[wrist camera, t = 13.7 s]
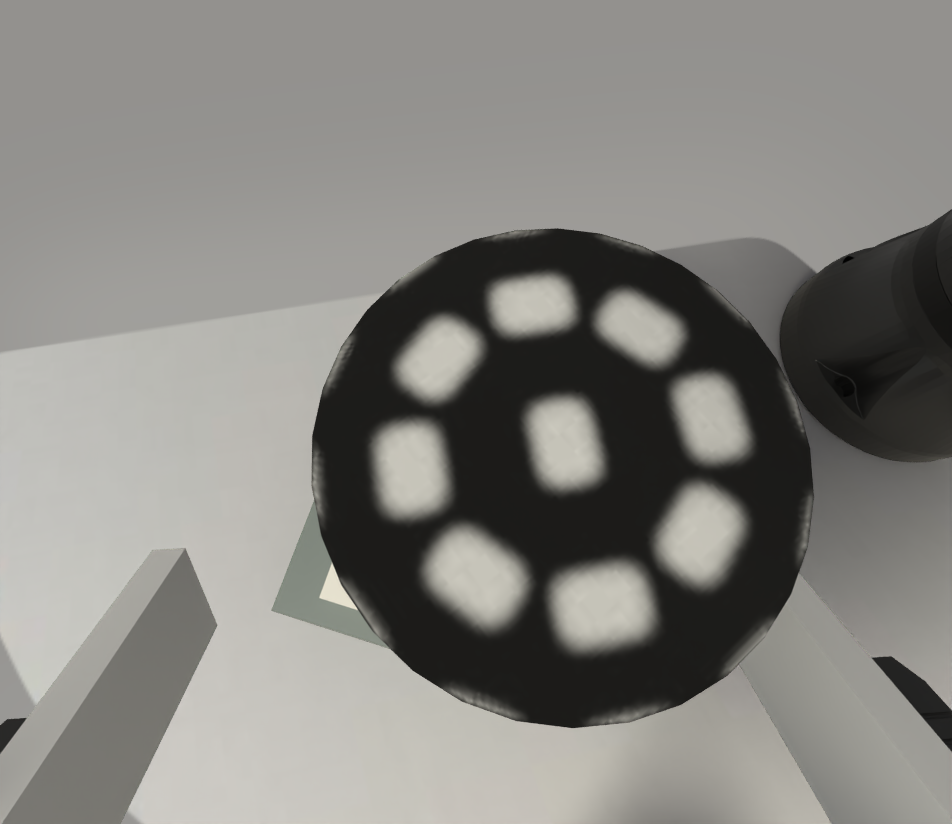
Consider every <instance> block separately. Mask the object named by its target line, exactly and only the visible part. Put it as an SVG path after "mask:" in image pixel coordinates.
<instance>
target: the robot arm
mask: <svg viewBox="0 0 952 824" xmlns="http://www.w3.org/2000/svg"><path fill="white" fill-rule="evenodd" d="M780 344H781V353H782V358H783V362H784V366H785V369H786V372H787V374H788V377H789V379H790V381H791V383H792V385H793V387H794V389H795V391H796V393H797V394H798V396H799V397H800V399H801V400H802V402H803V403H804V404H805V406H806V407H807V408H808V409H809V411H810V412H811V413H812V414H813V415H814V416H815V417H816V418H817V419H818V420H819V421H820V422H821V423H822V424H823V425H824V426H825V427H826V428H828V429H829V430H830V431H831V432H833V433H834V434H835V435H837V436H838V437H839V438H841V439H842V440H844V441H846V442H847V443H849V444H851V445H853V446H854V447H856V448H858V449H861V450H863V451H865V452H867V453H870V454H873V455H875V456H879V457H882V458H886V459H890V460H895V461H902V462H927V461H934V460H939V459H944V458H949V457H952V210H950V211H949V212H947V213H946V214H944V215H943V216H941V217H940V218H938V219H937V220H935V221H934V222H933V223H931V224H930V225H928V226H925V227H923V228H920V229H917V230H914V231H912V232H909V233H906V234H903V235H901V236H898V237H896V238H893V239H890V240H888V241H886V242H883V243H881V244H879V245H877V246H875V247H873V248H867V249H863V250H860V251H857V252H854V253H851V254H848V255H846V256H844V257H842V258H840V259H838V260H836V261H835V262H832V263H831V264H829V265H828V266H826V267H825V268H824V269H823V270H821V271H820V272H819V273H817V274H816V275H815V276H814V277H812V278H811V279H810V280H809V281H807V282H806V283H805V284H804V285H803V286H802V287H800V288H799V290H798V291H797V292H796V293H795V294H794V296H793V297H792V299H791V300H790V302H789V304H788V306H787V308H786V310H785V313H784V316H783V320H782V325H781V334H780ZM216 627H217V623H216V621H215V618H214V616H213V614H212V611H211V609H210V606H209V604H208V602H207V599H206V597H205V594H204V592H203V590H202V587H201V585H200V582H199V580H198V578H197V575H196V573H195V570H194V568H193V566H192V563H191V561H190V558H189V556H188V554H187V551H186V549H185V548H181V549H164V550H152V552H151V553H150V554H149V556H148V557H147V558H146V560H145V561H144V562H143V564H142V565H141V566H140V568H139V569H138V570H137V572H136V573H135V574H134V576H133V577H132V578H131V580H130V581H129V582H128V584H127V585H126V586H125V588H124V589H123V590H122V592H121V593H120V594H119V596H118V597H117V598H116V600H115V601H114V602H113V604H112V605H111V606H110V608H109V609H108V610H107V612H106V613H105V614H104V616H103V617H102V618H101V620H100V621H99V622H98V624H97V625H96V626H95V628H94V629H93V630H92V632H91V633H90V635H89V636H88V637H87V639H86V640H85V641H84V643H83V644H82V645H81V647H80V648H79V649H78V651H77V652H76V653H75V655H74V656H73V657H72V659H71V660H70V661H69V663H68V664H67V665H66V667H65V668H64V669H63V671H62V672H61V673H60V675H59V676H58V677H57V679H56V680H55V681H54V683H53V684H52V685H51V687H50V688H49V689H48V691H47V692H46V693H45V695H44V696H43V697H42V699H41V700H40V701H39V703H38V704H37V705H36V707H35V708H34V709H33V711H32V712H31V714H30V715H29V716H28V717H27V718H20V719H7V720H6V721H5V722H4V723H3V724H1V725H0V824H121V822H122V820H123V818H124V816H125V814H126V812H127V810H128V808H129V805H130V803H131V801H132V799H133V797H134V795H135V793H136V791H137V789H138V787H139V785H140V783H141V781H142V779H143V777H144V775H145V773H146V771H147V769H148V767H149V764H150V762H151V760H152V758H153V756H154V754H155V752H156V750H157V748H158V746H159V744H160V742H161V740H162V738H163V736H164V734H165V732H166V730H167V728H168V726H169V723H170V721H171V719H172V717H173V715H174V713H175V711H176V709H177V707H178V705H179V703H180V701H181V699H182V697H183V695H184V693H185V691H186V689H187V687H188V685H189V683H190V680H191V678H192V676H193V674H194V672H195V670H196V668H197V666H198V664H199V662H200V660H201V658H202V656H203V654H204V652H205V650H206V648H207V646H208V644H209V642H210V639H211V637H212V635H213V633H214V631H215V629H216ZM739 665H740V667H741V668H742V670H743V672H744V673H745V675H746V677H747V679H748V680H749V682H750V684H751V685H752V687H753V689H754V691H755V692H756V694H757V696H758V697H759V699H760V701H761V703H762V704H763V706H764V708H765V710H766V711H767V713H768V715H769V716H770V718H771V720H772V722H773V723H774V725H775V727H776V728H777V730H778V732H779V734H780V735H781V737H782V739H783V741H784V742H785V744H786V746H787V747H788V749H789V751H790V753H791V754H792V756H793V758H794V759H795V761H796V763H797V765H798V766H799V768H800V770H801V772H802V773H803V775H804V777H805V778H806V780H807V782H808V784H809V785H810V787H811V789H812V790H813V792H814V794H815V796H816V797H817V799H818V801H819V802H820V804H821V806H822V808H823V809H824V811H825V813H826V815H827V816H828V818H829V820H830V821H831V823H832V824H952V710H951V709H950V708H949V707H948V706H947V705H946V704H945V703H944V702H943V701H942V699H941V698H940V697H939V696H938V695H937V694H936V693H935V692H934V691H933V690H932V689H931V687H930V686H929V685H928V684H927V683H926V682H925V681H924V680H922V679H921V678H920V677H918V676H917V675H916V674H914V673H913V672H912V671H910V670H909V669H908V668H906V667H905V666H904V665H902V664H901V663H900V662H898V661H897V660H895V659H894V658H893V657H877V658H871V657H870V656H869V654H868V653H867V652H866V651H865V650H864V649H863V647H862V646H861V645H860V644H859V643H858V642H857V640H856V639H855V638H854V637H853V636H852V635H851V633H850V632H849V631H848V630H847V629H846V627H845V626H844V625H843V624H842V623H841V622H840V620H839V619H838V618H837V617H836V616H835V615H834V613H833V612H832V611H831V610H830V609H829V608H828V606H827V605H826V604H825V603H824V602H823V601H822V599H821V598H820V597H819V596H818V595H817V593H816V592H815V591H814V590H813V589H812V588H811V586H810V585H809V584H808V583H807V582H806V581H805V579H804V578H803V577H802V576H801V575H800V574H799V573H798V576H797V579H796V582H795V585H794V588H793V591H792V594H791V595H790V597H789V599H788V600H787V602H786V604H785V605H784V607H783V609H782V610H781V612H780V613H779V615H778V617H777V618H776V620H775V622H774V623H773V625H772V626H771V628H770V630H769V631H768V633H767V635H766V636H765V638H764V639H763V640H762V641H761V642H760V643H759V644H758V645H757V646H756V647H755V648H754V649H753V650H752V651H751V652H750V653H749V654H748V655H747V656H746V657H745V658H744V659H743V660H742V661H741V662H740V663H739Z"/></svg>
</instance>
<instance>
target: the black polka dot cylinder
mask: <svg viewBox="0 0 952 824" xmlns="http://www.w3.org/2000/svg"><path fill="white" fill-rule="evenodd" d="M312 490H313V495H314V501H315V506H316V511H317V517H318V522H319V527H320V533H321V537H322V539H323V542H324V544H325V547H326V549H327V551H328V554H329V556H330V559H331V561H332V564H333V566H334V569H335V571H336V573H337V576H338V578H339V581H340V583H341V586H342V587H343V589H344V590H345V591H346V593H347V594H348V596H349V597H350V599H351V600H352V602H353V603H354V605H355V606H356V608H357V609H358V611H359V612H360V614H361V615H362V617H363V618H364V620H365V621H366V623H367V624H368V626H369V627H370V629H371V630H372V631H373V632H374V633H375V634H376V635H377V636H378V637H379V638H380V639H381V640H382V641H383V642H384V643H385V644H386V645H387V646H388V647H389V648H390V649H391V650H392V651H393V652H394V653H395V654H396V655H397V656H398V657H399V658H400V659H401V660H402V661H403V662H404V663H406V664H407V665H408V666H409V667H410V668H411V669H412V670H413V671H414V672H416V673H417V674H419V675H421V676H422V677H424V678H425V679H427V680H428V681H430V682H432V683H433V684H435V685H436V686H438V687H440V688H441V689H443V690H444V691H446V692H448V693H449V694H451V695H452V696H454V697H456V698H457V699H459V700H460V701H462V702H465V703H468V704H470V705H473V706H476V707H479V708H482V709H484V710H487V711H490V712H493V713H495V714H498V715H501V716H504V717H507V718H509V719H512V720H515V721H521V722H529V723H537V724H544V725H552V726H560V727H568V728H579V727H589V726H599V725H609V724H619V723H629V722H632V721H635V720H638V719H641V718H644V717H647V716H649V715H652V714H655V713H658V712H661V711H664V710H667V709H670V708H673V707H676V706H679V705H682V704H683V703H685V702H686V701H688V700H690V699H691V698H693V697H694V696H696V695H697V694H699V693H701V692H702V691H704V690H705V689H707V688H709V687H710V686H712V685H713V684H715V683H717V682H718V681H720V680H721V679H723V678H724V677H726V676H727V675H728V674H729V673H730V672H731V671H732V670H733V669H734V668H735V667H736V666H737V665H738V664H739V663H740V662H741V661H742V660H743V659H744V658H745V657H746V656H747V655H748V654H749V653H750V652H751V651H752V650H753V649H754V648H755V647H756V646H757V645H758V644H759V643H760V642H761V641H762V640H763V639H764V638H765V636H766V635H767V633H768V631H769V630H770V628H771V626H772V625H773V623H774V622H775V620H776V618H777V617H778V615H779V613H780V612H781V610H782V609H783V607H784V605H785V604H786V602H787V600H788V599H789V597H790V595H791V594H792V591H793V588H794V585H795V582H796V579H797V576H798V573H799V570H800V567H801V565H802V562H803V559H804V556H805V553H806V550H807V547H808V540H809V532H810V524H811V516H812V508H813V500H814V493H813V480H812V468H811V455H810V447H809V443H808V439H807V436H806V432H805V428H804V425H803V421H802V418H801V414H800V410H799V407H798V403H797V401H796V399H795V396H794V394H793V392H792V390H791V388H790V386H789V384H788V382H787V380H786V378H785V376H784V374H783V372H782V370H781V367H780V365H779V363H778V361H777V359H776V358H775V357H774V355H773V354H772V352H771V351H770V350H769V348H768V347H767V346H766V344H765V343H764V341H763V340H762V339H761V337H760V336H759V334H758V333H757V332H756V330H755V329H754V327H753V326H752V325H751V323H750V322H749V321H748V320H747V319H746V318H745V317H744V316H743V315H742V314H741V313H740V312H739V311H738V310H737V309H736V308H735V307H734V306H733V305H732V304H731V303H730V302H729V301H728V300H727V299H726V298H725V297H724V296H723V295H722V294H721V293H720V292H719V291H717V290H716V289H715V288H713V287H712V286H710V285H709V284H708V283H706V282H705V281H703V280H702V279H700V278H699V277H698V276H696V275H695V274H693V273H692V272H690V271H689V270H688V269H686V268H685V267H683V266H682V265H680V264H678V263H676V262H674V261H672V260H670V259H668V258H666V257H664V256H662V255H659V254H657V253H655V252H653V251H651V250H649V249H647V248H645V247H643V246H640V245H637V244H633V243H630V242H627V241H623V240H620V239H616V238H613V237H610V236H606V235H603V234H598V233H590V232H581V231H574V230H565V229H540V230H539V229H538V230H517V231H511V232H506V233H502V234H498V235H493V236H489V237H484V238H480V239H475V240H472V241H470V242H467V243H465V244H463V245H460V246H458V247H455V248H453V249H451V250H448V251H446V252H443V253H441V254H439V255H436V256H434V257H433V258H431V259H430V260H428V261H426V262H425V263H423V264H422V265H420V266H419V267H417V268H416V269H414V270H413V271H411V272H410V273H408V274H407V275H405V276H404V277H402V278H401V279H399V280H398V281H397V282H396V283H395V284H394V285H393V286H392V287H390V289H388V290H387V291H386V292H385V293H384V294H383V295H382V296H381V297H380V298H379V299H378V300H377V301H376V302H375V303H374V304H373V305H372V306H371V307H370V308H369V309H368V310H367V311H366V312H365V314H364V315H363V317H362V318H361V319H360V321H359V322H358V324H357V325H356V327H355V328H354V329H353V331H352V332H351V334H350V335H349V336H348V338H347V339H346V341H345V342H344V344H343V345H342V346H341V349H340V351H339V353H338V355H337V358H336V360H335V362H334V364H333V367H332V369H331V371H330V373H329V376H328V378H327V380H326V383H325V385H324V387H323V390H322V394H321V399H320V403H319V408H318V412H317V417H316V421H315V426H314V431H313V435H312Z"/></svg>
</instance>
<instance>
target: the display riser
mask: <svg viewBox="0 0 952 824" xmlns="http://www.w3.org/2000/svg"><path fill="white" fill-rule="evenodd" d="M271 611H274V612H277V613H280V614H283V615H286V616H289V617H293V618H296V619H299V620H302V621H305V622H308V623H311V624H314V625H317V626H320V627H324V628H327V629H330V630H333V631H336V632H339V633H342V634H345V635H348V636H351V637H355V638H358V639H361V640H364V641H367V642H370V643H373V644H376V645H379V646H382V647H386V648H389V647H388V646H387V645H386V644H385V643H384V642H383V641H382V640H381V639H380V638H379V637H378V636H377V635H376V634H375V633H374V632H373V631H372V630H371V629H370V627H369V626H368V624H367V623H366V621H365V620H364V618H363V617H362V615H361V614H360V612H359V611H358V609H357V608H356V606H355V605H354V603H353V602H352V600H351V599H350V597H349V596H348V594H347V593H346V591H345V590H344V589H343V587H342V586H341V583H340V581H339V578H338V576H337V573H336V571H335V569H334V566H333V564H332V561H331V559H330V556H329V554H328V551H327V549H326V547H325V544H324V542H323V539H322V537H321V533H320V527H319V522H318V517H317V511H316V506H315V501H314V502H313V505H312V507H311V510H310V513H309V515H308V518H307V520H306V523H305V525H304V528H303V531H302V533H301V536H300V538H299V541H298V543H297V546H296V549H295V551H294V554H293V556H292V559H291V561H290V564H289V567H288V569H287V572H286V574H285V577H284V579H283V582H282V585H281V587H280V590H279V592H278V595H277V597H276V600H275V602H274V605H273V608H272V610H271ZM389 649H390V648H389Z"/></svg>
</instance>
